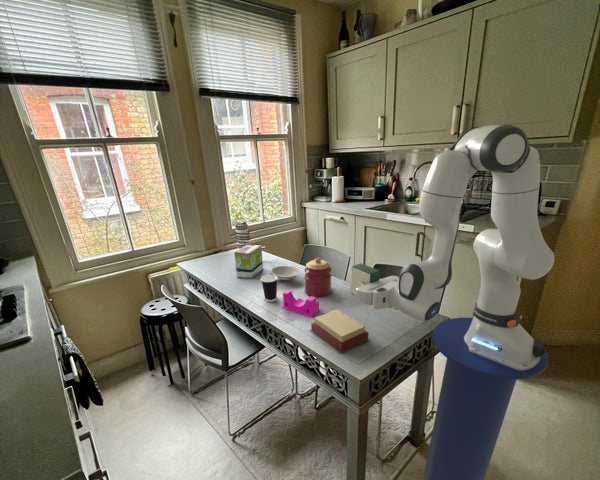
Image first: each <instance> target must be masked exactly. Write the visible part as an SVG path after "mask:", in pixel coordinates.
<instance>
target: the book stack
mask: <svg viewBox="0 0 600 480" xmlns="http://www.w3.org/2000/svg"><path fill="white" fill-rule="evenodd" d="M310 324H311V325H310V327H311V330H310V331H311V332H312V333H313V334H315V335H316V336H318V337H319V338H320V339H322V340H323V341H324V342H325V343H327V344H329V345H330V346H331V347H332V348H334V349H335V350H336V351H338V353H341V354H343V353H344V352H347V351H349V350H351V349H353V348H356V347H357V346H359V345H362V344H364V343H365V342H368V341H369V331H367V330H365V329H366V326H365V325H364V324H362V323H360V322H358V321H357V320H356V319H354V318H352V317H350V316H348V315H347V314H345V313H343V312H342V311H340V310H339V309H334V310H331V311H329V312H326V313H324V314H321V315H319V316H316V317H314V322H311V323H310Z"/></svg>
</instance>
